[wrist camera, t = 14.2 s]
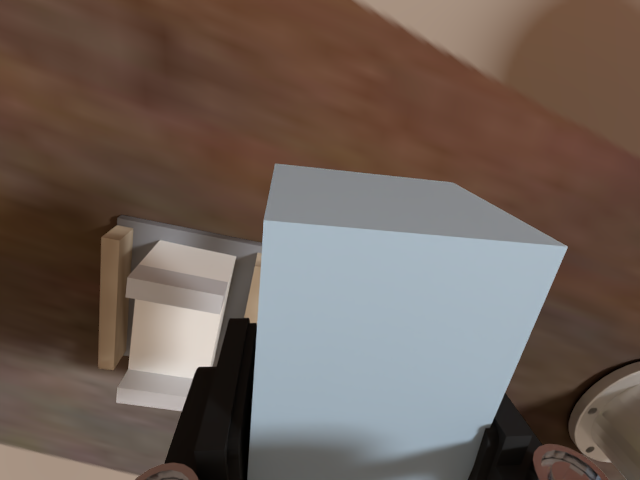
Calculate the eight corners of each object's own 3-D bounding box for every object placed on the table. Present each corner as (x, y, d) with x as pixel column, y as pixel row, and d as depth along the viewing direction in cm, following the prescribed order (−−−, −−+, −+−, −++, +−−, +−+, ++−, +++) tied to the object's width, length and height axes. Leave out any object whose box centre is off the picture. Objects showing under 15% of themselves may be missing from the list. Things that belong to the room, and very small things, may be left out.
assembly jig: (273, 245, 24) (272, 262, 22) (246, 366, 28) (242, 391, 26) (121, 214, 23) (101, 229, 20) (115, 348, 27) (97, 373, 24)
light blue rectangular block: (452, 182, 9) (567, 246, 5) (374, 470, 13) (408, 618, 9) (275, 163, 8) (263, 219, 5) (253, 470, 12) (237, 627, 9)
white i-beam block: (236, 256, 24) (223, 295, 19) (214, 358, 27) (199, 413, 22) (159, 240, 23) (127, 277, 18) (146, 347, 26) (116, 402, 21)
